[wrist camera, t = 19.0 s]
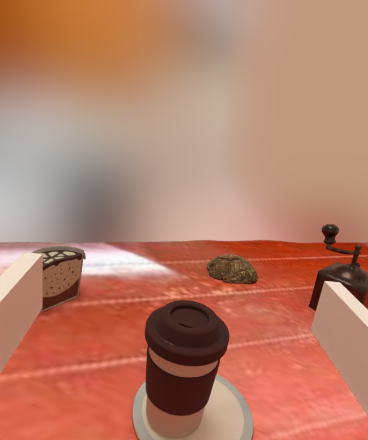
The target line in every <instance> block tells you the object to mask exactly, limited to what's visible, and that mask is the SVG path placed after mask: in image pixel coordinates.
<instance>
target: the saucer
mask: <svg viewBox="0 0 368 440" xmlns="http://www.w3.org/2000/svg"><path fill="white" fill-rule="evenodd" d="M146 401H147V393H146V381H145V382H144V383H143V384H142V386H141V387H140V388H139V390H138V392H137V394H136V397H135V399H134V404H133V412H132V420H133V427H134V430H135V434H136V436H137V438H138V440H251V438H252V434H253V419H252V414H251V411H250V408H249V406H248V404H247V402H246V400H245V398H244V397H243V395H242V394H241V393H240V392H239V390H238V389H237V388H236V387H235V386H234V385H233V384H231V383H230V382H229V381H227V380H226V379H224V378H223V377H221V376H219V375H218V374H216V377H215V381H214V384H213V388H212V391H211V394H210V398H209V401H208V403H207V404H206V406H205V409H204V412H203V416H202V419H201V423H200V425H199V426H198V428H197V429H196V430H195V431H194V432H193V433H192V434H190V435H188V436H186V437H182V438H169V437H166V436H163V435H161V434H160V433H158V432H157V431H155V430H154V429H153V427H152V426H151V425H150V423H149V421H148V419H147V415H146Z"/></svg>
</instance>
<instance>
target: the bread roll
mask: <svg viewBox="0 0 368 440" xmlns="http://www.w3.org/2000/svg"><path fill="white" fill-rule="evenodd" d="M207 268H208V269H209V274H210V276H211V277H212V278H215V279H218V280H223V281H224V282H227V283H233V284H241V283H245V284H252V283H255V282H256V281H257V273H256V271H255V270H254V268H253V267H252V265H251V264H250V263H249V262H248V261H247V260H245V259H243V258H242V257H240V256H237V255H233V254H228V255H222V256H218V257H216V258H214V259H212V260H211V261H210V262H208V265H207Z"/></svg>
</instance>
